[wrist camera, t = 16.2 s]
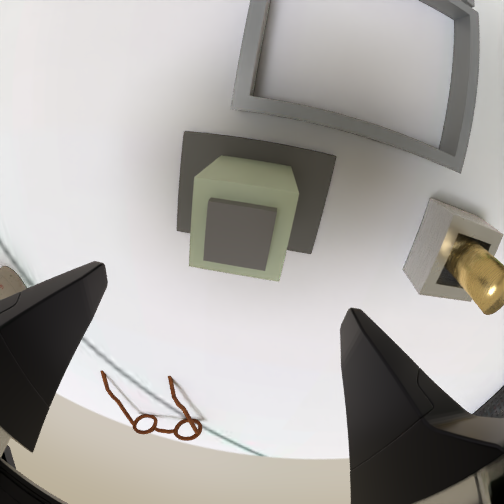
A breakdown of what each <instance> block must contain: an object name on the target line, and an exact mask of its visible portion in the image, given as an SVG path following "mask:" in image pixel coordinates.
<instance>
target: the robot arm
mask: <svg viewBox="0 0 504 504" xmlns="http://www.w3.org/2000/svg"><path fill="white" fill-rule="evenodd" d="M107 284H108V281H107V275H106V268H105V265H104V264H103V263H101V262H97V261H94V262H91V263H88V264H86V265H83V266H81V267H78V268H76V269H73V270H71V271H68V272H66V273H63V274H61V275H58V276H56V277H53V278H51V279H49V280H46V281H44V282H41V283H39V284H37V285H34V286H32V287H30V288H27V289H25V290H23V291H22V292H21V291H20V292H18V293H16V294H14V295H11V296H9V297H6V298H4V299H2V300H0V504H68V503H66V502H64V501H62V500H61V499H59V498H57V497H56V496H54V495H52V494H50V493H49V492H47V491H46V490H44V489H43V488H41V487H40V486H38V485H37V484H35V483H34V482H32V481H31V480H29V479H28V478H27V477H25V476H24V475H23V474H21V473H20V472H18V471H17V470H16V467H15V464H14V461H13V457H12V454H11V450H10V447H9V446H8V445H7V444H8V442H9V439H10V438H12V439H14V440H15V441H16V442H18V443H19V444H20V445H22V446H23V447H24V448H26V449H27V450H29V451H30V452H33V450H34V448H35V445H36V442H37V439H38V437H39V434H40V431H41V428H42V425H43V423H44V420H45V417H46V415H47V413H48V410H49V407H50V405H51V403H52V400H53V398H54V396H55V393H56V391H57V389H58V387H59V384H60V382H61V380H62V378H63V376H64V373H65V371H66V369H67V367H68V365H69V363H70V361H71V359H72V357H73V355H74V353H75V351H76V349H77V347H78V345H79V343H80V341H81V339H82V338H83V336H84V334H85V332H86V330H87V328H88V326H89V325H90V323H91V321H92V319H93V317H94V315H95V312H96V310H97V308H98V306H99V303H100V301H101V299H102V297H103V294H104V292H105V290H106V288H107ZM340 340H341V370H342V378H343V387H344V395H345V405H346V415H347V427H348V440H349V456H350V470H351V471H350V482H351V504H504V419H503V418H490V417H480V416H475V415H473V414H470V413H469V412H467V411H466V410H465V409H463V408H462V407H461V406H460V405H459V404H458V403H457V402H456V401H454V400H453V399H452V398H451V397H450V396H449V395H448V394H447V393H445V392H444V391H443V390H442V389H441V388H440V387H439V386H438V385H437V384H436V383H434V382H433V381H432V380H431V379H430V378H429V377H428V376H427V375H426V374H425V373H424V371H423V370H422V369H421V368H419V366H418V365H417V364H416V363H415V362H414V361H413V360H412V359H411V358H410V357H409V356H408V355H407V354H406V353H405V352H404V351H403V350H402V349H401V348H400V347H399V346H398V345H397V344H396V343H395V342H394V341H393V340H392V339H391V338H390V337H389V336H388V335H387V334H386V333H385V332H384V331H383V330H382V329H381V328H380V327H379V326H377V325H376V324H375V323H374V322H373V321H372V320H371V319H370V318H369V317H368V316H367V315H366V314H365V313H364V312H363V311H362V310H361V309H357V308H350V309H349V310H348V311H347V313H346V316H345V318H344V320H343V322H342V324H341V328H340Z"/></svg>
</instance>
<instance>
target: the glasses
mask: <svg viewBox="0 0 504 504" xmlns="http://www.w3.org/2000/svg"><path fill="white" fill-rule="evenodd" d="M101 374H102V378H103V382H104V385H105V389H106V391H107V392H108V394H109V395H110V396H111V398H112V399H113V400H115V401H116V402H117V404H118V405H119V407H120V408H121V410H122V411H123V413H124V414H125V416H126V417H127V418H128V420H129V421H130V423H131V424H132V425H133V429H134V430H135V431H136V432H137V433H139V434H148V433H151V432H153V431H154V430H155V431H157V432H161V433H168V434H170V433H174V435H175V436H176V437H177V438H178V439H180V440H184V441H188V440H193V439H195V438H197V437H198V436H199V435H200V434H201V432H202V424H201V423H200V422H199V421H198V420H196V419H191V417H190V415H189V413H188V411H187V410H186V408H185V407H184V406H183V405H182V404H181V403H180V402H179V400H178V399H177V398H176V394H175V389H174V384H173V379H172V378H171V376H168V379H169V384H170V390H171V394H172V398H173V400H174V402H175V403H176V405H177V406H178V407H179V408H180V409H181V410H182V411H183V413H184V415H185V416H186V418H187V419H184V420H181V421H180V422H179V423H178V424H177V425H176V426H175V428H174V429H173V430H166V429H159V428H156V426H157V418H156V417H155V416H153V415H148V414H144V415H141V416H139V417H137V418H136V419H135V421H133V419H132V418H131V417H130V415H129V414H128V412H127V411H126V409H125V408H124V406H123V405H122V403H121V402H120V400H119V399H118V398H117V397H115V396H114V394H113V393H112V392H111V390H110V389H109V386H108V382H107V378H106V375H105V373H104V372H103V371H101ZM146 417H149V418H152V419H154V424H153V426H152V427H151V428H150V429H148V430H145V431H141V430H138V429H137V428H136V425H137V423H138V421H139V420H141V419H142V418H146ZM186 422H189V423H190V425H191V427H192V429H193V430H194V432H195V434H194V435H192V436H190V437H183V436H180V435H179V434H178V429H179V427H180V426H181V425H182V424H184V423H186ZM194 423H196V424H198V429H197V428H196V426H195V424H194Z"/></svg>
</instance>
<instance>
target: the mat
mask: <svg viewBox="0 0 504 504" xmlns="http://www.w3.org/2000/svg"><path fill="white" fill-rule="evenodd" d="M221 155H222V156H230V157H237V158H244V159H251V160H257V161H263V162H269V163H275V164H281V165H286V166H291V168H292V171H293V174H294V178H295V181H296V184H297V188H298V191H299V197H298V202H297V206H296V211H295V215H294V220H293V224H292V229H291V233H290V238H289V242H288V246H287V250H290V251H296V252H302V253H307V254H311V253H312V249H313V246H314V242H315V238H316V235H317V231H318V228H319V224H320V220H321V216H322V213H323V209H324V205H325V201H326V197H327V193H328V189H329V185H330V181H331V177H332V173H333V169H334V164H335V160H336V156H333V155H329V154H325V153H320V152H316V151H312V150H307V149H302V148H298V147H293V146H288V145H282V144H277V143H271V142H266V141H260V140H253V139H247V138H240V137H233V136H225V135H217V134H208V133H198V132H187V131H185V132H184V135H183V145H182V156H181V167H180V180H179V195H178V213H177V231H181V232H187V233H191V215H192V200H193V187H194V177H195V176H196V175H197V174H199V173H200V172H201V171H202V170H204V169H205V168H206V167H207V166H209V165H210V164H211V163H212V162H214V161H215V160H216V159H217V158H219V157H220V156H221Z"/></svg>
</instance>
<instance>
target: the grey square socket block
mask: <svg viewBox="0 0 504 504" xmlns="http://www.w3.org/2000/svg"><path fill="white" fill-rule="evenodd" d="M458 233H460V234H463V235H466V236H469V237H471V238H472V239H474V240H475V241H476V242H477V243H479V244H480V245H481V246H482V247H483V248H485V249H486V250H487V251H488V252H489V253H490V254H491V255H493V256H494V255H495V253H496V251H497V249H498V246H499V244H500V241H501V239H502V237H503V234H502V233H500V232H499V231H498V230H497V229H495V228H494V227H493V226H491V225H490V224H489V223H487V222H486V221H485V220H483V219H482V218H480V217H478V216H476V215H473V214H471V213H469V212H466V211H464V210H461V209H459V208H456V207H454V206H451V205H448V204H446V203H443V202H440V201H438V200H435V199H432V198H430V200H429V203H428V206H427V209H426V212H425V215H424V218H423V220H422V223H421V226H420V228H419V231H418V234H417V236H416V239H415V241H414V244H413V246H412V249H411V251H410V254H409V256H408V258H407V261H406V263H405V265H404V268H403V271H404V272H405V274H406V275H407V277H408V278H409V280H410V281H411V283H412V284H413V286H414V288H415V289H416V291H417V292H418V294H420V295H427V296H434V297H441V298H448V299H456V300H463V301H470V302H471V300H472V298H471V297H470V295H469V294H468V293H467V292H466V291H465V290H464V288H463V287H462V286H461V285H460V284H459V283H458V281H457V280H456V279H455V278H454V277H453V276H452V275H451V274H450V272H449V271H448V270H447V269H446V268H445V267H444V265H445V263H446V261H447V259H448V257H449V254H450V252H451V250H452V247H453V245H454V243H455V240H456V238H457V235H458Z"/></svg>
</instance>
